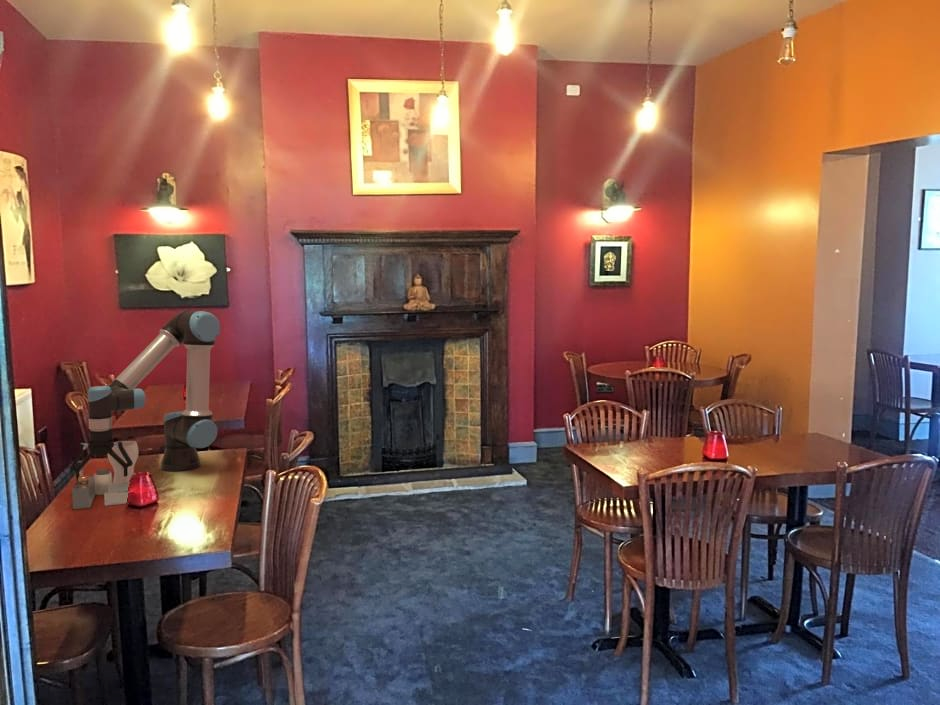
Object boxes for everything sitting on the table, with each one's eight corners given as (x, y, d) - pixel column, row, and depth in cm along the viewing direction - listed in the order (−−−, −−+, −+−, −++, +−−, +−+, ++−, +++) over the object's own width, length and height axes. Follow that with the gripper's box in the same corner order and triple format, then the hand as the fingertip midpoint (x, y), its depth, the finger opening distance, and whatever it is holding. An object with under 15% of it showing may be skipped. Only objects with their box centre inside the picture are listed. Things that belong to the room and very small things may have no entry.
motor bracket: (133, 491, 270) (132, 467, 269) (130, 504, 255) (129, 478, 254) (79, 496, 264) (78, 471, 263) (73, 509, 249) (71, 483, 248)
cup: (145, 478, 287) (143, 440, 286) (129, 486, 277) (128, 447, 275) (119, 478, 288) (117, 440, 287) (103, 485, 278) (101, 446, 276)
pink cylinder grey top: (113, 489, 273) (112, 467, 272) (112, 493, 267) (111, 471, 267) (95, 490, 271) (94, 468, 270) (93, 495, 265) (92, 473, 264)
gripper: (139, 425, 275) (140, 481, 277) (63, 429, 266) (65, 487, 268) (137, 429, 268) (139, 486, 270) (59, 433, 259) (62, 492, 261)
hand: (102, 486), depth 269 cm, fingers open, 13 cm apart
